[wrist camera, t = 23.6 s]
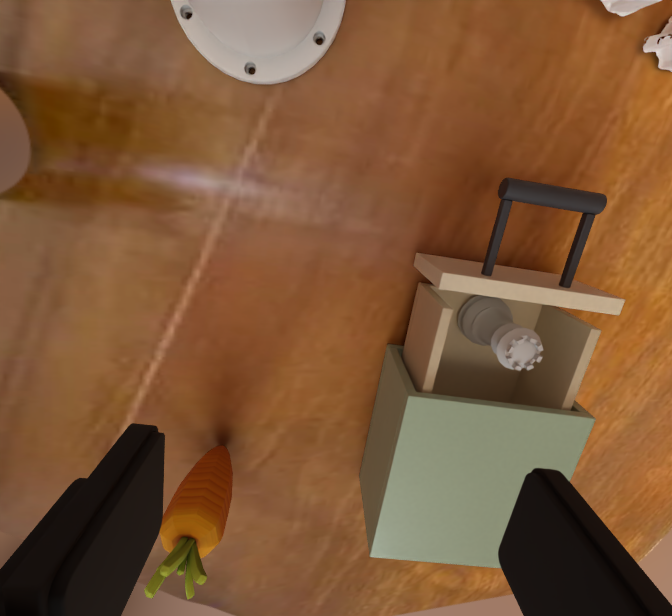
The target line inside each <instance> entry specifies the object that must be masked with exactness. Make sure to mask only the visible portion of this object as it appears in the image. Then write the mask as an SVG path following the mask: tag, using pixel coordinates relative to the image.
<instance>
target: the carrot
mask: <svg viewBox="0 0 672 616" xmlns="http://www.w3.org/2000/svg"><path fill="white" fill-rule="evenodd" d="M232 475H233V473H232V467H231V460H230V455H229V452H228V450H227V448H226V447H225V446H223V445H221V446H217V447H215V448H213V449H211V450H210V451H209V452H207V453H206V454H205V455H204V456H203V457H202V458H201V459H200V460H199V461H198V462H197V463H196V465H195V466H194V467H193V468H192V469H191V471H190V472H189V473H188V475H187V476H186V477H185V479H184V480H183V481H182V483H181V484H180V485H179V487H178V489H177V491H176V493H175V494H174V496H173V498H172V500H171V502H170V504H169V506H168V508H167V510H166V511H165V513H164V515H163V517H162V524H161V528H160V531H159V532H160V536H161V540H162V545H163V548H164V549H165V550H166V551H168V552H170V554H169V555H168V556H167V558H166V559H165V560H164V561H163V562H162V564H161V565H160V566H159V567H158V568H157V571H156V573H155V574H154V575H153V577H152V578H151V580H150V582H149V583H148V585H147V586H146V588H145V590H144V591H145V594H146V597H149V598H153V597H154V595H155V594H156V592H157V590H158V589H159V587H160V586H161V584H162V583H163V581H164V579H165V578H166V576H168V575H170V574H171V573H172V572H173V571H174V570H175V569H176V568H177V567H178V569H177V574H178V575H182V574H183V573H184V570H185V565H186V576H185V589H186V595H187V599H190V598H192V597H193V596H194V587H193V579H194V580H195V582H196V583H198V584H201V585H203V583H204V582H205V581H206V579H207V575H206V573H205V571H204V569H203V566H202V562H201V559H200V558H203V557H205V556H206V555H207V554H208V553H209V552H210V551H211V550H212V549H213V548H215V547H216V546H217V545H218V544H219V542H220V541H221V539H222V537H223V533H224V529H225V525H226V521H227V517H228V512H229V508H230V503H231V497H232ZM186 560H187V563H186Z"/></svg>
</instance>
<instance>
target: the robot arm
mask: <svg viewBox="0 0 672 616" xmlns="http://www.w3.org/2000/svg"><path fill="white" fill-rule="evenodd" d="M171 3H172V6H173V8H174V11H175V14H176V16H177V19H178V21H179V23H180V25H181V27H182V28H183V30H184V32H185V34H186V35H187V37H188V39H189V40H190V41H191V43H192V44H193V45H194V46H195V47H196V49H197V50H198V51H199V52H200V53H201V54H202V55H203V56H204V57H205V58H206V59H207V60H208V61H209V62H210V63H211V64H212V65H214V66H215V67H216V68H218V69H219V70H221V71H222V72H223V73H225V74H227V75H229V76H231V77H234V78H236V79H238V80H240V81H245V82H249V83H253V84H276V83H281V82H286V81H289V80H291V79H293V78H295V77H298V76H300V75H302V74H303V73H305V72H306V71H307V70H309V69H310V68H312V67H313V66H314V65H315V64H316V63H317V62H318V61H319V60H320V59H321V58H322V57H323V56H324V55H325V53H326V52H327V50H328V49H329V47H330V45H331V44H332V42H333V41H334V39H335V37H336V34H337V32H338V29H339V27H340V24H341V22H342V17H343V13H344V8H345V4H346V0H171ZM188 14H192V17H191V18H190V19H187V15H188ZM317 39H321V40H322V41H323V43H322V44H321V45H318V44H317V43H316V40H317ZM251 68H254V69H255V73H254V74H252V75H251V74H249V70H250V69H251ZM164 448H165V435H164V433H159V432H158V428H157V426H152V425H143V424H134V423H133V424H131V425H130V426H129V427H128V428H127V429H126V430H125V432H124V433H123V434H122V435H121V437H120V438H119V439H118V440H117V442H116V443H115V444H114V445H113V447H112V448H111V449H110V451H109V452H108V453H107V454H106V456H105V457H104V458H103V459H102V461H101V462H100V463H99V464H98V466H97V467H96V468H95V470H94V471H93V472H92V473H91V475H90V476H89V477H88V478H87V479H86V478H79V479H77V480H75V481H74V482H73V483H72V484H71V485H70V486H69V487H68V488H67V490H66V491H65V492H64V493H63V494H62V496H61V497H60V498H59V499H58V500H57V502H56V503H55V504H54V505H53V506H52V508H51V509H50V510H49V511H48V513H47V514H46V515H45V516H44V517H43V519H42V520H41V521H40V522H39V523H38V525H37V526H36V527H35V528H34V529H33V531H32V532H31V533H30V534H29V535H28V537H27V538H26V539H25V540H24V541H23V543H22V544H21V545H20V546H19V548H18V549H17V550H16V551H15V552H14V554H13V555H12V556H11V557H10V559H9V560H8V561H7V562H6V563H5V564H4V566H3V567H2V568H1V569H0V616H121V614H122V612H123V610H124V608H125V606H126V604H127V601H128V599H129V597H130V595H131V593H132V591H133V588H134V586H135V584H136V582H137V580H138V578H139V575H140V573H141V571H142V569H143V567H144V565H145V562H146V560H147V558H148V556H149V554H150V552H151V549H152V547H153V545H154V543H155V541H156V539H157V537H158V534H159V531H160V528H161V524H162V517H163V483H164ZM498 559H499V563H500V566H501V568H502V570H503V572H504V575H505V577H506V579H507V581H508V583H509V585H510V587H511V590H512V592H513V594H514V596H515V598H516V600H517V602H518V605H519V606H520V609H521V611H522V613H523V615H524V616H672V605H671V604H670V603H669V602H668V600H667V599H666V598H665V597H664V596H663V594H662V593H661V592H660V591H659V589H658V588H657V587H656V586H655V585H654V583H653V582H652V581H651V580H650V579H649V577H648V576H647V575H646V574H645V572H644V571H643V570H642V569H641V568H640V567H639V565H638V564H637V563H636V562H635V560H634V559H633V558H632V557H631V556H630V554H629V553H628V552H627V551H626V549H625V548H624V547H623V546H622V545H621V543H620V542H619V541H618V540H617V539H616V537H615V536H614V535H613V534H612V533H611V531H610V530H609V529H608V528H607V527H606V525H605V524H604V523H603V522H602V521H601V519H600V518H599V517H598V516H597V514H596V513H595V512H594V511H593V510H592V508H591V507H590V506H589V505H588V504H587V502H586V501H585V500H584V499H583V498H582V496H581V495H580V494H579V493H578V492H577V490H576V489H575V488H574V487H573V485H572V484H571V483H570V482H569V481H568V479H567V478H566V477H565V476H564V475H563V474H562V473H561V472H560V471H558V470H553V469H544V468H534V469H533V470H532V472H531V473H528V474H527V475H526V476H525V479H524V481H523V484H522V487H521V490H520V492H519V495H518V498H517V500H516V503H515V506H514V508H513V511H512V514H511V517H510V519H509V522H508V525H507V527H506V530H505V533H504V535H503V538H502V541H501V544H500V546H499V550H498Z"/></svg>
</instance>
